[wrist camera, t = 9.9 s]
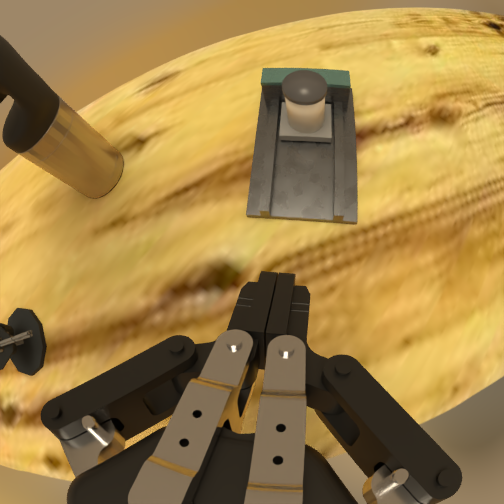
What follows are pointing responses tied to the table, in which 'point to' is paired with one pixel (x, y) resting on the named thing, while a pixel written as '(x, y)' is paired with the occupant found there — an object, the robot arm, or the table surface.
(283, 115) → the knob carriage
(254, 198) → the knob mount
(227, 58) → the table surface
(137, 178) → the table surface
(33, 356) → the gun turret
